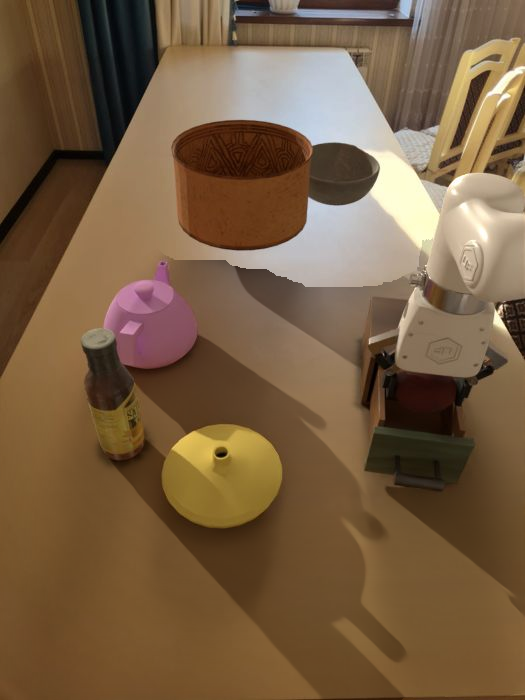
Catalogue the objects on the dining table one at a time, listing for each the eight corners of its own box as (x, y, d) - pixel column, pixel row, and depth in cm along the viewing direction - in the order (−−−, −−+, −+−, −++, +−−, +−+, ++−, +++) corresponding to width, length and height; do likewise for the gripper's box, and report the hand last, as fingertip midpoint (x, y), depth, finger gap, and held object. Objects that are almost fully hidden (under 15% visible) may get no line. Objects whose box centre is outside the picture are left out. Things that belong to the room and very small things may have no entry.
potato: (432, 435, 69) (444, 403, 65) (377, 403, 73) (385, 371, 69) (458, 403, 73) (471, 372, 69) (405, 374, 77) (413, 343, 73)
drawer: (460, 512, 69) (479, 475, 64) (363, 498, 70) (373, 461, 65) (447, 408, 82) (462, 370, 77) (365, 398, 83) (373, 359, 78)
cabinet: (450, 415, 82) (468, 368, 75) (360, 404, 84) (370, 357, 77) (441, 351, 93) (457, 305, 86) (362, 342, 94) (371, 295, 87)
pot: (263, 286, 106) (265, 191, 92) (153, 244, 116) (141, 153, 102) (326, 226, 123) (336, 138, 109) (226, 194, 133) (224, 110, 120)
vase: (271, 548, 66) (273, 518, 61) (147, 526, 68) (139, 496, 63) (289, 446, 77) (291, 414, 73) (182, 429, 79) (178, 397, 74)
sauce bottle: (146, 460, 75) (124, 356, 62) (100, 465, 74) (68, 362, 61) (146, 423, 80) (125, 320, 66) (102, 428, 79) (73, 325, 66)
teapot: (181, 394, 84) (174, 336, 76) (85, 383, 86) (68, 325, 77) (210, 307, 100) (207, 252, 92) (129, 299, 102) (119, 244, 93)
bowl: (275, 203, 131) (276, 163, 124) (318, 173, 143) (321, 135, 136) (349, 228, 122) (355, 187, 116) (387, 195, 135) (395, 155, 128)
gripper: (377, 299, 58) (356, 407, 70) (545, 317, 57) (494, 424, 68) (377, 261, 64) (357, 367, 76) (530, 276, 62) (485, 382, 74)
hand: (422, 394), depth 72 cm, fingers closed on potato, 8 cm apart
